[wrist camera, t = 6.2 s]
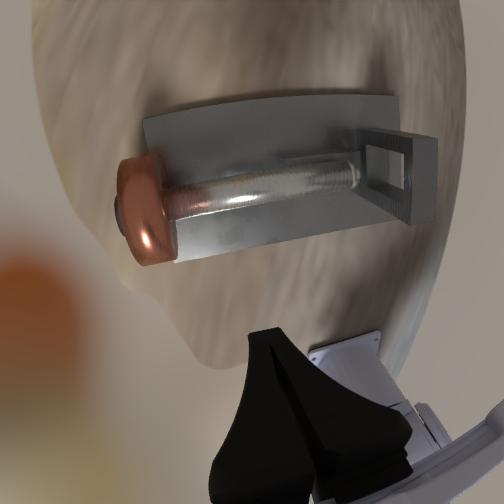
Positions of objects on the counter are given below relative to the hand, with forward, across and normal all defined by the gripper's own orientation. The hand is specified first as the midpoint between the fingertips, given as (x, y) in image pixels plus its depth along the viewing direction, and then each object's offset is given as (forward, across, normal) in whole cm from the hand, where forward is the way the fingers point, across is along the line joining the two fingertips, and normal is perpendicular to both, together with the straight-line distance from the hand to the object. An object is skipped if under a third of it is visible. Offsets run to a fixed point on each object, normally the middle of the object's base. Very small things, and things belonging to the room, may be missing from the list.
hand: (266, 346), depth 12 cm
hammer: (+10, -1, -5) cm, 11 cm away
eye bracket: (+10, -5, -5) cm, 12 cm away
